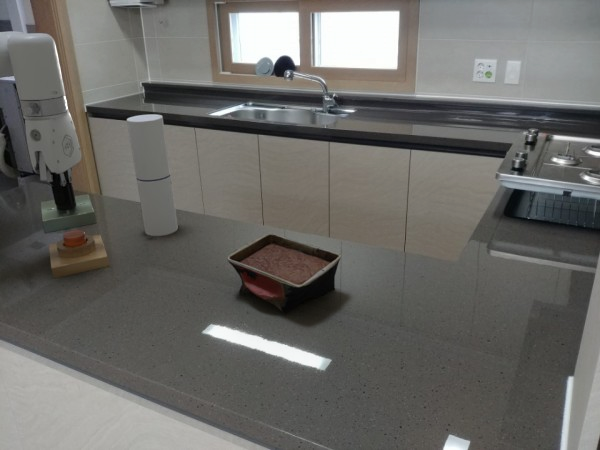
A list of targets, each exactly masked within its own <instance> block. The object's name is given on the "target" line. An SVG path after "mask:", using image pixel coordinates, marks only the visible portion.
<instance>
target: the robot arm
mask: <svg viewBox="0 0 600 450" xmlns="http://www.w3.org/2000/svg"><path fill="white" fill-rule="evenodd" d="M9 77H10V78H11V77H13V79H14V82H15V87H16V91H17V95H18V100H19V104H20V108H21V112H22V117H23V119H24V126H25V127H24V128H25V135H26V143H27V150H28V154H29V158H30V163H31V166H32V169H33V171H34V172H35V174H38V175H39V181H40V182H41V183H48V185H49V187H51V191H52V196H53V200H54V201H55V204H56V205H71V204H72V203H74V202H75V198H74V196H75V192H74V193H73V191H74V188H72V187H73V184H72V182H73V174H72V170H73V169H74V167H75V166H76V165H77V164H79V163H80V162H81V160H82V157H83V156H82V151H81V145H80V142H79V139H78V134H77V130H76V126H75V123H74V121H73V118H72V115H71V113H70V110H69V105H68V100H67V95H66V89H65V85H64V80H63V74H62V70H61V65H60V60H59V54H58V49H57V44H56V42H55V39H54V38H53V36H51V35H50V34H49V33H42V32H34V33H33V32H32V33H28V32H24V31H18V30H11V31H0V79H1V78H9Z"/></svg>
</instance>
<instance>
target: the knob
mask: <svg viewBox="0 0 600 450" xmlns="http://www.w3.org/2000/svg"><path fill="white" fill-rule="evenodd" d="M73 187H74V186H72V188H73ZM73 189H74V188H73ZM73 193H74V194H75V191H74V190H73ZM75 196H76V195H74V198H75ZM75 206H76V200H75V202H74V203H72V204H71V205H56V208H57V209H59V210H66V209H70V208H73V207H75Z"/></svg>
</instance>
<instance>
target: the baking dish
mask: <svg viewBox="0 0 600 450" xmlns="http://www.w3.org/2000/svg"><path fill="white" fill-rule="evenodd" d="M341 258H342V254H341V253H339V252H336V251H333V250H328V249H325V248H322V247H318V246H316V245H313V244H310V243H307V242H304V241H303V242H302V241H300V240H296V239H292V238H289V237H285V236H282V235H280V234H276V233H266V234H264V235H261V236H258V237H257V238H254V239H253V240H251V241H249V242H247V243H246V244H244V245H242V246H241V247H239V248H237V249H235V250H233V251H232V252H231V253H230V254H228V256H227V257H226V259H227V262H228V263H229V264H230V265H231V266H232V267H233V269H234V270H235V271H236V273H237V274H238V276H239V278H240V280H241V286H240V289H239V291H238V295H239V296H240V295H242V294H243V293H244V292H245V291H247V290H248V291H249V292H250V293H252V294H253V295H254V296H256V297H258V298H261V299H262V300H264V301H266V302H267V303H269V304H271V305H274V306H275V307H276V308H277V309H279V311H281V313H283V314H284V315H286V314H287V313H289V312H290V311H291V310H293V309H294V308H295V307H297V306H298V305H299V304H300V303H302V302H303V301H304V300H309V299H314V298H319V297H323V296H326V295H328V294H329V293H331V292H333V291H334V290H336V288H335V284H336V283H335V282H336V281H335V280H336V279H335V278H336V274H337V270H338V266H339V263H340V261H341Z"/></svg>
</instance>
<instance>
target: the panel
mask: <svg viewBox="0 0 600 450" xmlns="http://www.w3.org/2000/svg"><path fill="white" fill-rule="evenodd" d="M74 196H75V200H76V206H75V207H73V208H70V209H66V210H59V209H57V208H56V204H55V201H54V199H51V200H45V201H44V200H43V201H40V208H41V221H42V225H43V229H44V230H43V231H44V234H49V233H53V232H54V233H55V232H59V231H64V230H68V229H69V230H70V229H74V228H81V227H85V226H90V225H94V224H95V225H96V224H97V219H96V213H95V210H94V207H93V203H92V201H91V198H90V195H89V194H88V193H87V194H79V195H74Z"/></svg>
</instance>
